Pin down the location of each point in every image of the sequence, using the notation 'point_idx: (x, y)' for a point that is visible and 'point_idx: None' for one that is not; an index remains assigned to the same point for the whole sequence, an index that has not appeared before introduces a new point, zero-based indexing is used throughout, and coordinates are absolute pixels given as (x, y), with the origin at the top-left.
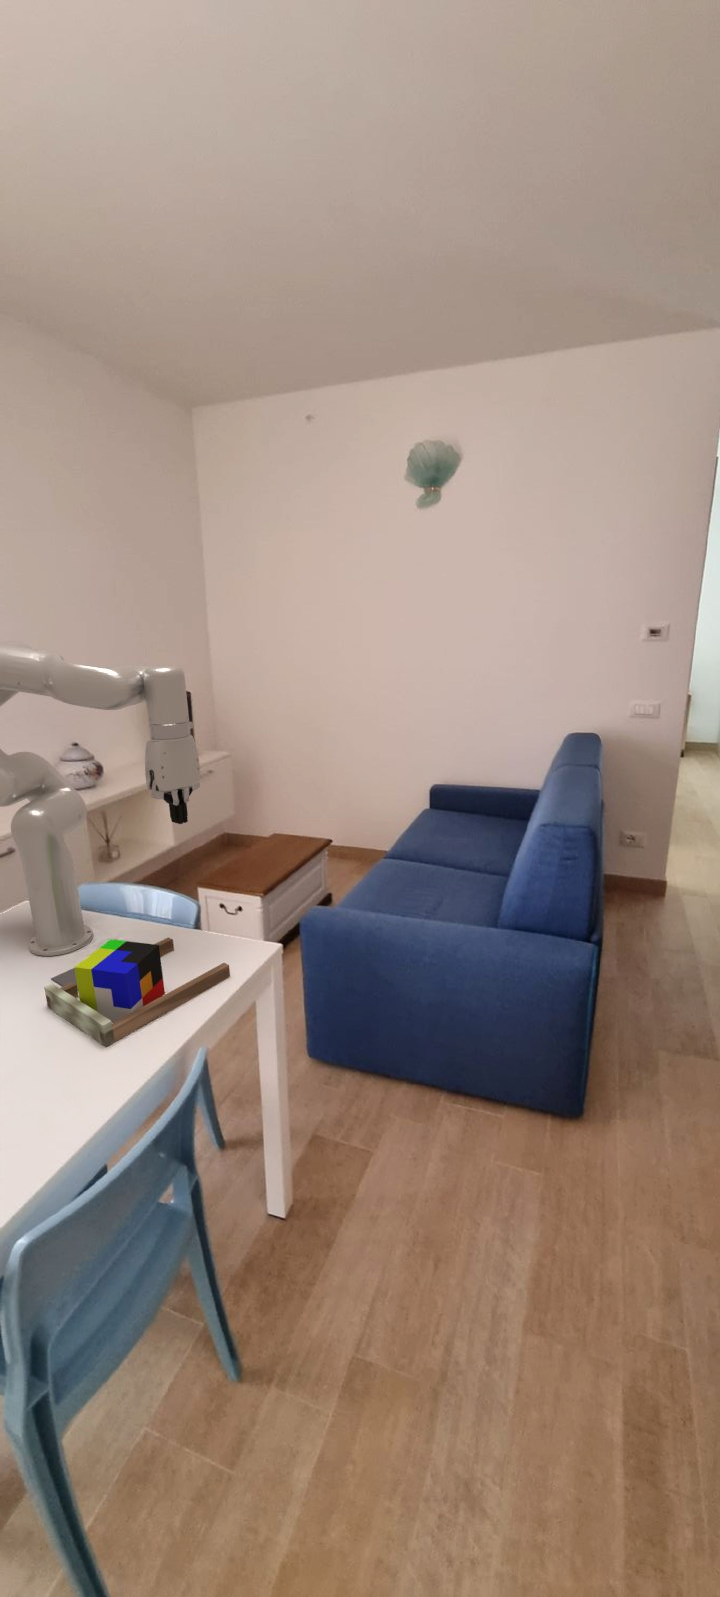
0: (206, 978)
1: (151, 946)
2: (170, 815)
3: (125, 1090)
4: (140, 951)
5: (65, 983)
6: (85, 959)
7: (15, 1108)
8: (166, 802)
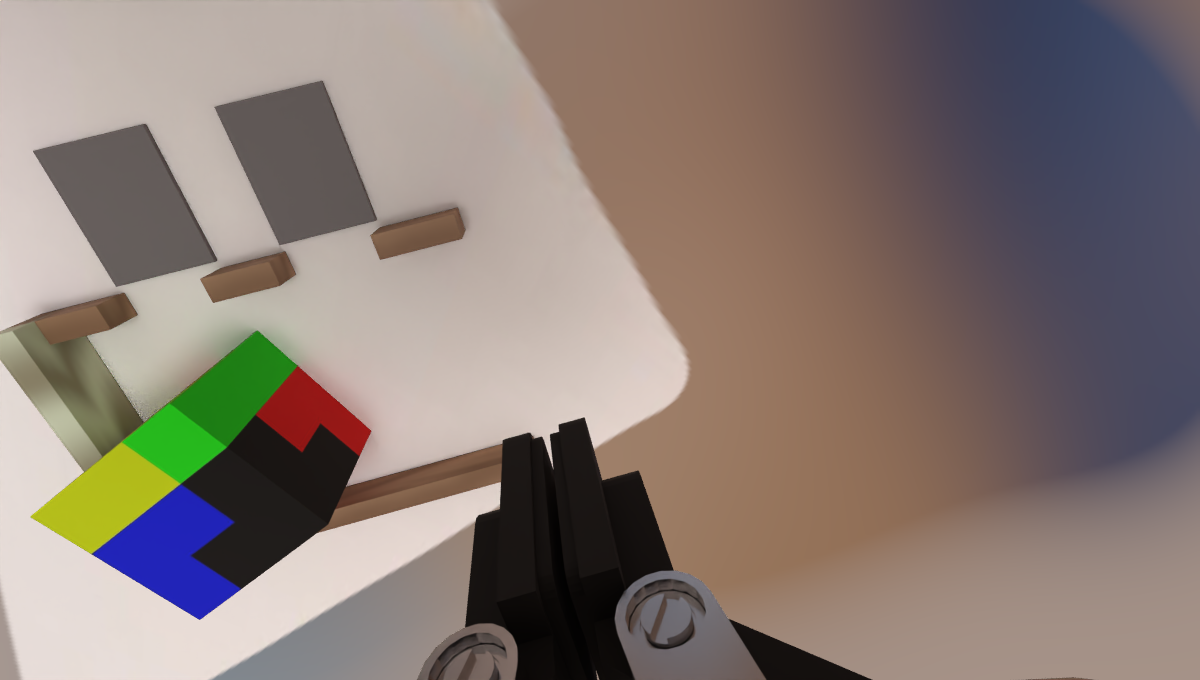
0: (466, 490)
1: (303, 522)
2: (476, 537)
3: (225, 659)
4: (263, 532)
5: (90, 221)
6: (69, 490)
7: (11, 619)
8: (430, 667)
